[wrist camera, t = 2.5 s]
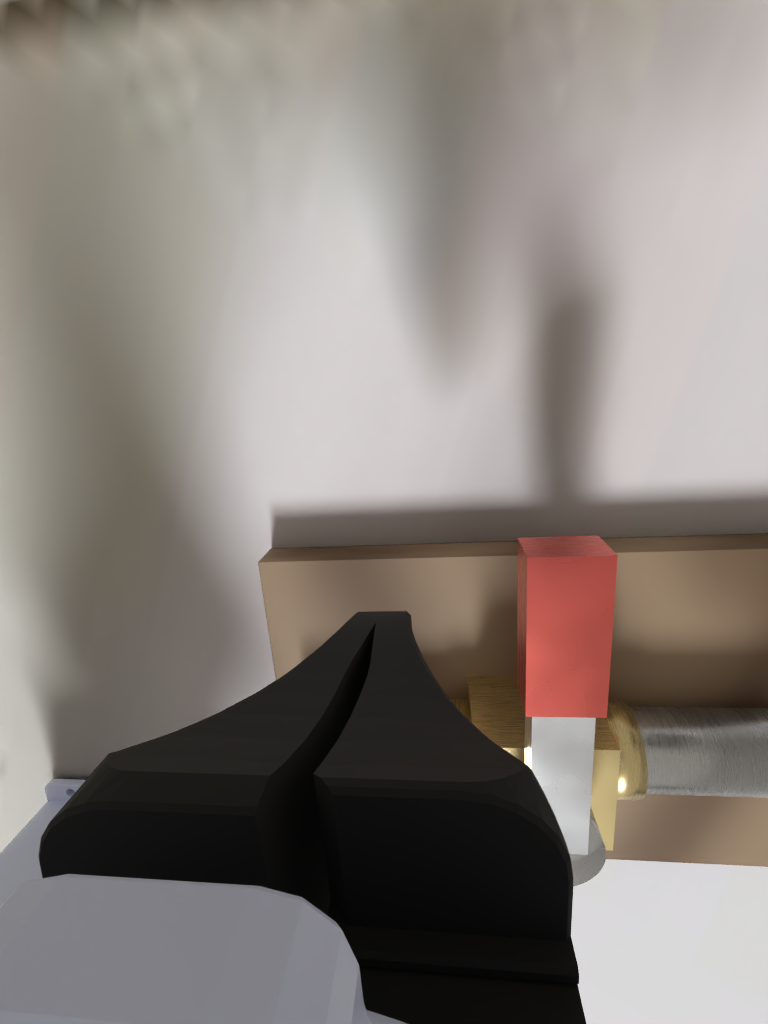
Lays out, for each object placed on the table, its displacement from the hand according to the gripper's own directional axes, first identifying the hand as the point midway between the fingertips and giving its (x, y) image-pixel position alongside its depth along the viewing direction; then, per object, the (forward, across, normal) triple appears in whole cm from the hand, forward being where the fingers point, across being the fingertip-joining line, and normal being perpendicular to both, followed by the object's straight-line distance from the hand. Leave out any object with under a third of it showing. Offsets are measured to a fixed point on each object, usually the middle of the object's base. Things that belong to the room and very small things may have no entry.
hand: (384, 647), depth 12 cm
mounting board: (+8, -4, +7) cm, 11 cm away
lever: (+2, -4, +3) cm, 6 cm away
